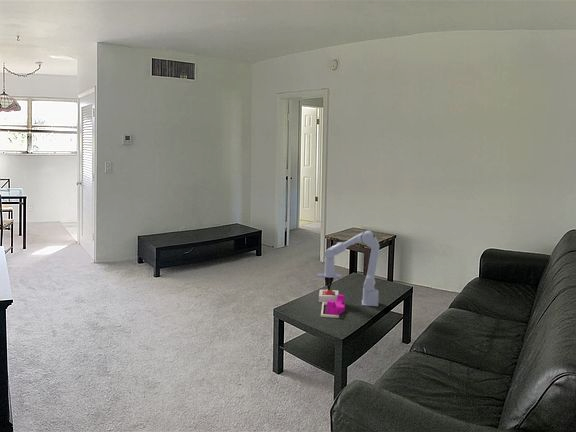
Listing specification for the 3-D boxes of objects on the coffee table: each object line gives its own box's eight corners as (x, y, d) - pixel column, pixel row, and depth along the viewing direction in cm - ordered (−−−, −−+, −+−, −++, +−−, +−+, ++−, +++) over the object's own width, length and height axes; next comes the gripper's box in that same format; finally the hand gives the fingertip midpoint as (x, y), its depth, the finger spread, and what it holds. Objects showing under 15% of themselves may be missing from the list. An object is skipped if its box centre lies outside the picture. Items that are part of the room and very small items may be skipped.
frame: (339, 305, 279) (339, 303, 279) (338, 317, 259) (339, 315, 259) (322, 304, 280) (322, 302, 280) (320, 316, 260) (320, 314, 260)
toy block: (336, 316, 262) (337, 303, 261) (326, 314, 265) (327, 301, 264) (348, 308, 274) (348, 296, 273) (338, 306, 278) (339, 294, 276)
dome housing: (338, 296, 293) (338, 290, 293) (338, 303, 282) (338, 296, 281) (319, 295, 295) (319, 289, 294) (318, 302, 283) (318, 295, 283)
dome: (334, 296, 291) (334, 287, 290) (334, 300, 284) (334, 291, 283) (323, 295, 292) (323, 287, 291) (322, 299, 285) (323, 290, 284)
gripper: (341, 266, 288) (340, 287, 290) (317, 265, 290) (317, 286, 292) (341, 269, 281) (340, 291, 284) (317, 268, 283) (316, 290, 285)
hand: (328, 289), depth 287 cm, fingers closed, pressing on dome
